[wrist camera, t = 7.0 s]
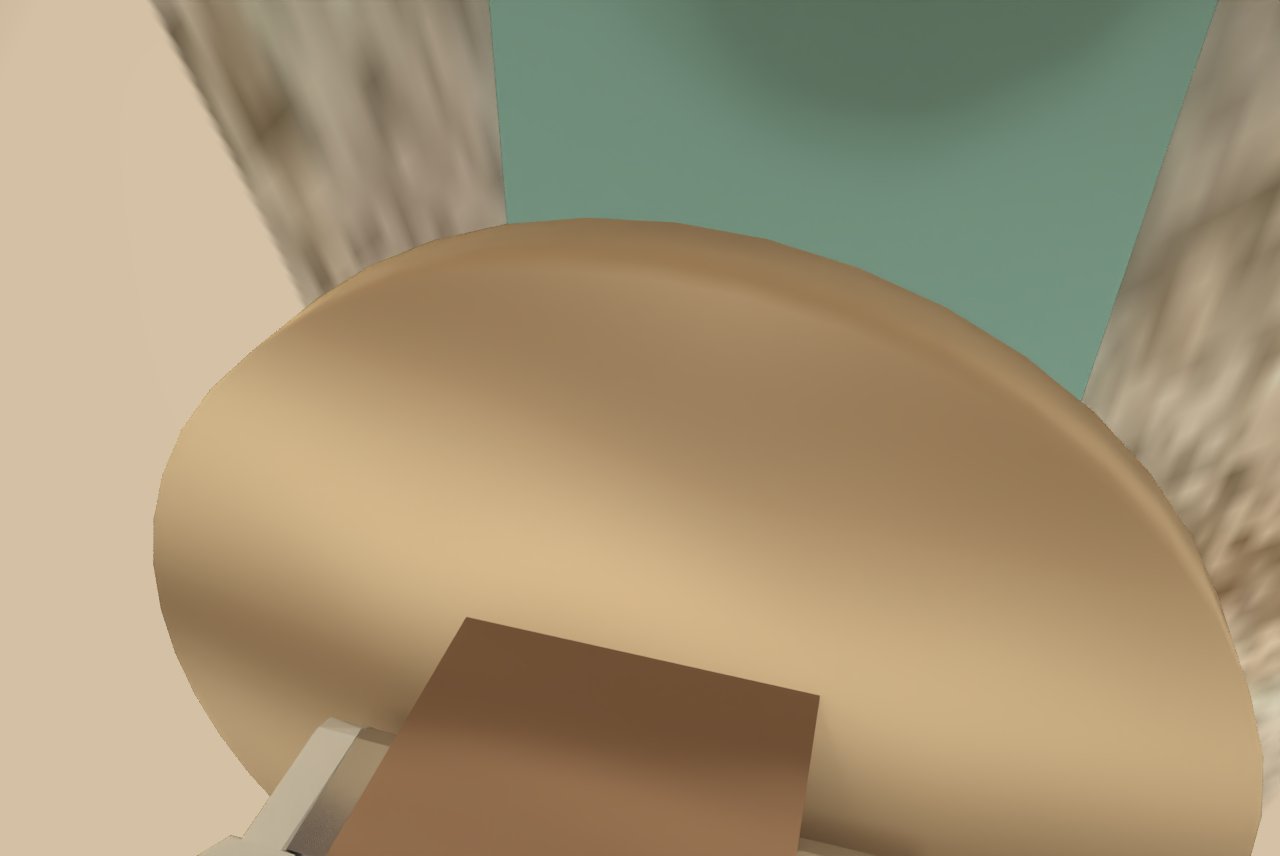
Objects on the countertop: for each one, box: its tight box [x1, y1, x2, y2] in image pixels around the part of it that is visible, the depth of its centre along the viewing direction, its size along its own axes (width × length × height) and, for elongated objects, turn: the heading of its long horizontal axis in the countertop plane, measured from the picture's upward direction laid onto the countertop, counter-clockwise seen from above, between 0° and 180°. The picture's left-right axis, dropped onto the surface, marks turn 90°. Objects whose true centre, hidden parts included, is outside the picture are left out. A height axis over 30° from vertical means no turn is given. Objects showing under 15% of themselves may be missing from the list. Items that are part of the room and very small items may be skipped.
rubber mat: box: [489, 0, 1218, 401], centre depth 21 cm, size 14×14×1 cm
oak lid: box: [153, 218, 1263, 856], centre depth 11 cm, size 13×13×4 cm
